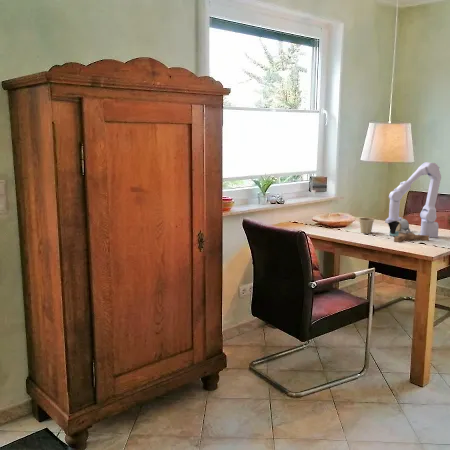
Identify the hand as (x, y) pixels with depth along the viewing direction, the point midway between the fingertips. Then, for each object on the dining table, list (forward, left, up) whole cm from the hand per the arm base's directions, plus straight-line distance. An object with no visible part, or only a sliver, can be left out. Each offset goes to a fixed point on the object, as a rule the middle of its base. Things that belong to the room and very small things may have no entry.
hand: (392, 233), depth 293 cm
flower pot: (+12, -12, -2) cm, 17 cm away
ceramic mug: (-11, -15, -2) cm, 19 cm away
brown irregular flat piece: (-6, +9, -2) cm, 11 cm away
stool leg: (-3, +2, -1) cm, 4 cm away
